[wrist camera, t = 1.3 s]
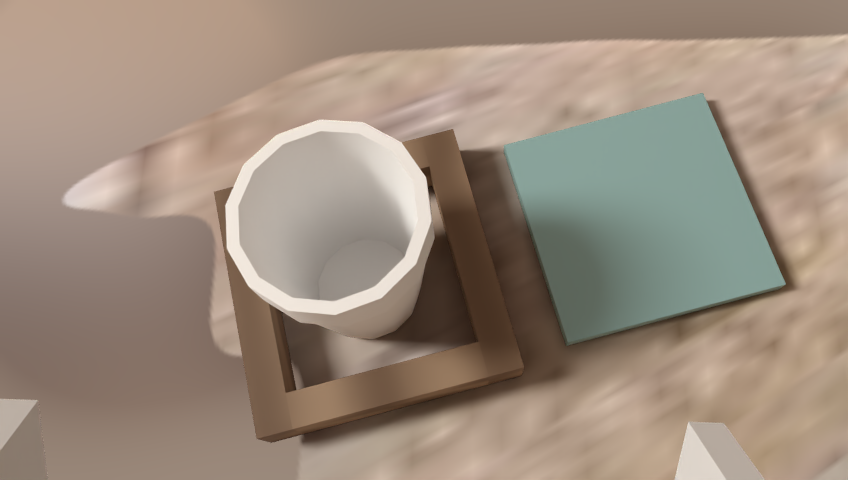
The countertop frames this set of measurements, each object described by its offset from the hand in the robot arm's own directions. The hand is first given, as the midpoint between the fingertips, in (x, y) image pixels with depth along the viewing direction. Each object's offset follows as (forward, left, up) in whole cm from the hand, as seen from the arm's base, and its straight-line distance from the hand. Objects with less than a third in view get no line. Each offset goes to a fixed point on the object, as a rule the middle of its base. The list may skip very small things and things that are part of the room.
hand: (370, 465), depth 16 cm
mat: (-16, -12, -28) cm, 35 cm away
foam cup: (+1, -12, -29) cm, 31 cm away
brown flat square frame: (+1, -12, -28) cm, 31 cm away
